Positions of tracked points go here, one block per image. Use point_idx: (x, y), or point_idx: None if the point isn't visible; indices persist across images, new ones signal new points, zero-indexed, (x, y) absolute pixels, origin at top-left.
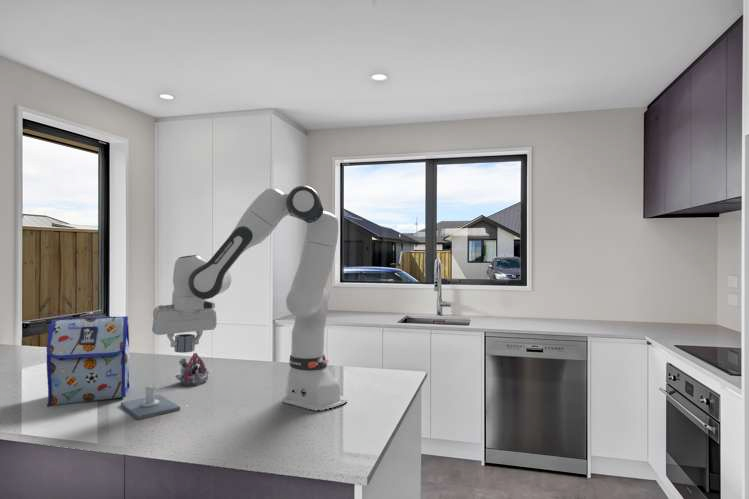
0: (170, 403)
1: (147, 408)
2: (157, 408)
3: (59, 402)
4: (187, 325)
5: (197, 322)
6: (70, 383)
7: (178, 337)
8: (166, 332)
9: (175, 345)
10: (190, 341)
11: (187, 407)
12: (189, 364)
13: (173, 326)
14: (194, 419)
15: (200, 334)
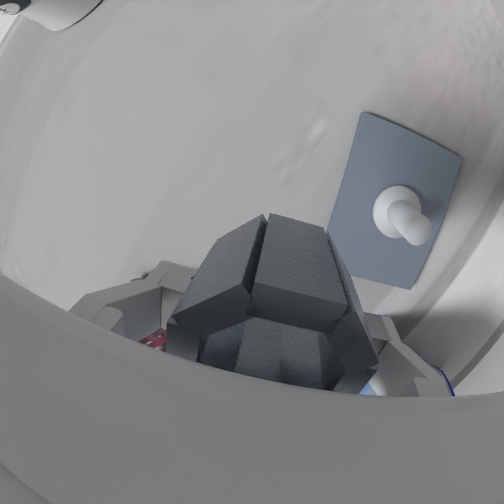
0: (359, 165)
1: (420, 187)
2: (408, 161)
3: (435, 368)
4: (288, 482)
5: (57, 448)
6: (446, 386)
7: (377, 358)
8: (499, 400)
9: (371, 317)
10: (276, 256)
11: (330, 112)
12: (163, 335)
13: (479, 459)
14: (378, 24)
15: (106, 300)
